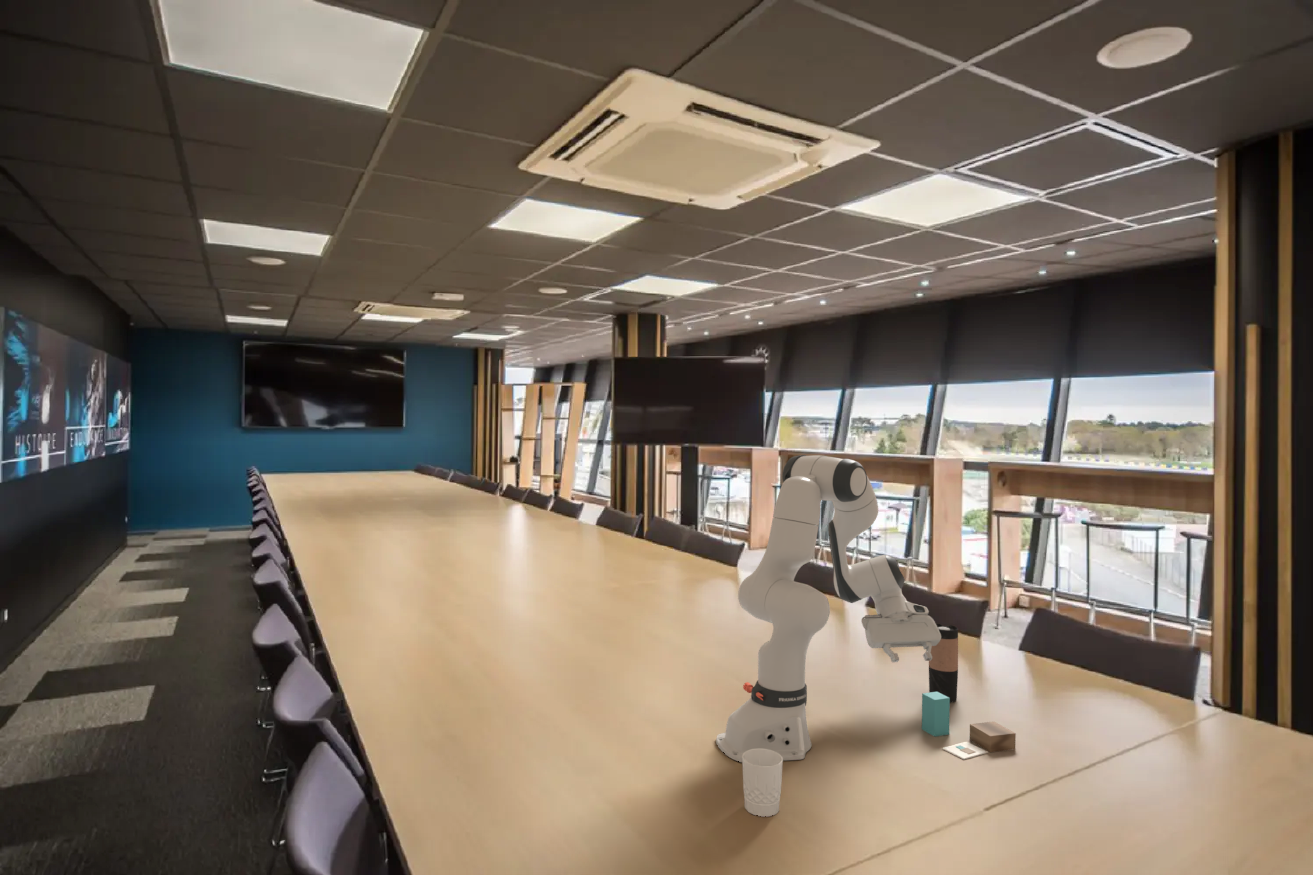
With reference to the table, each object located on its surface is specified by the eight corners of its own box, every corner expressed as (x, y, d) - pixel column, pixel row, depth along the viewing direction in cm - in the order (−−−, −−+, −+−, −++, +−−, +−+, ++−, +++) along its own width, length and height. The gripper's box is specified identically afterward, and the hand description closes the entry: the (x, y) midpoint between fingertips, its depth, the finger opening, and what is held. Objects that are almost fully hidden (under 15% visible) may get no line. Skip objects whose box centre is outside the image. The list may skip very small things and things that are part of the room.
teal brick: (934, 736, 172) (934, 699, 172) (921, 729, 176) (922, 693, 176) (949, 734, 173) (949, 697, 173) (936, 726, 177) (936, 691, 177)
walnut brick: (990, 753, 163) (990, 736, 163) (969, 740, 170) (969, 723, 170) (1015, 750, 165) (1015, 733, 165) (993, 737, 172) (994, 721, 172)
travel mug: (940, 704, 193) (940, 631, 193) (922, 694, 200) (923, 624, 200) (963, 701, 195) (964, 629, 195) (945, 691, 202) (946, 622, 202)
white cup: (777, 797, 142) (778, 748, 142) (786, 818, 134) (786, 766, 134) (738, 797, 142) (739, 748, 142) (745, 819, 134) (745, 766, 134)
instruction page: (963, 759, 159) (963, 757, 159) (942, 749, 165) (942, 747, 165) (987, 752, 163) (987, 751, 163) (965, 742, 168) (965, 740, 168)
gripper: (863, 609, 192) (879, 656, 182) (932, 607, 195) (952, 653, 185) (855, 621, 196) (871, 667, 186) (923, 618, 199) (942, 664, 190)
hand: (912, 660), depth 186 cm, fingers open, 8 cm apart
